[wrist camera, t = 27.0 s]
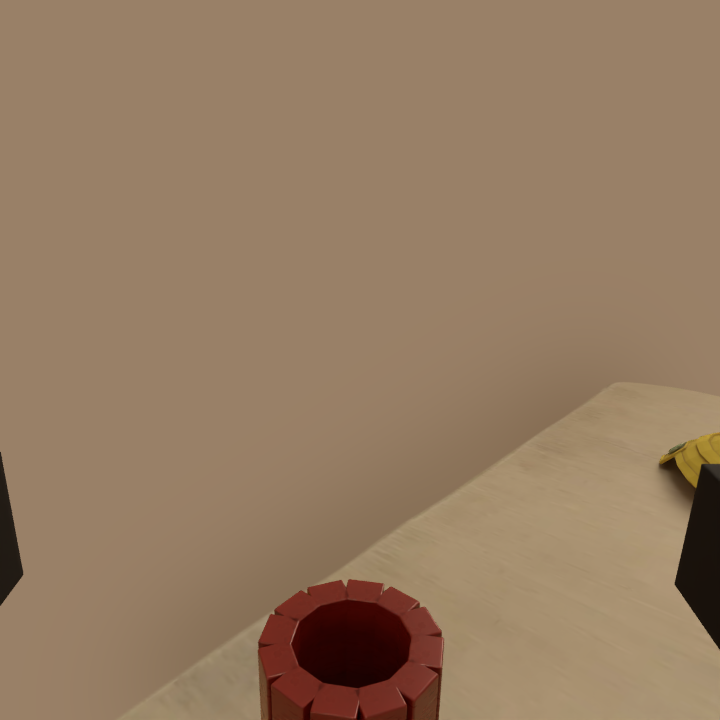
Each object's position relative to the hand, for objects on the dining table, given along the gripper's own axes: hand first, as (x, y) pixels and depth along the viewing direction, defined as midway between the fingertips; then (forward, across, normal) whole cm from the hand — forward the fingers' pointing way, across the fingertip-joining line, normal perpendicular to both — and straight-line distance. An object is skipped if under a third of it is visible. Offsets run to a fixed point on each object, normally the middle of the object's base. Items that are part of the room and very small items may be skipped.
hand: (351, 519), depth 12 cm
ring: (+9, 0, +20) cm, 22 cm away
